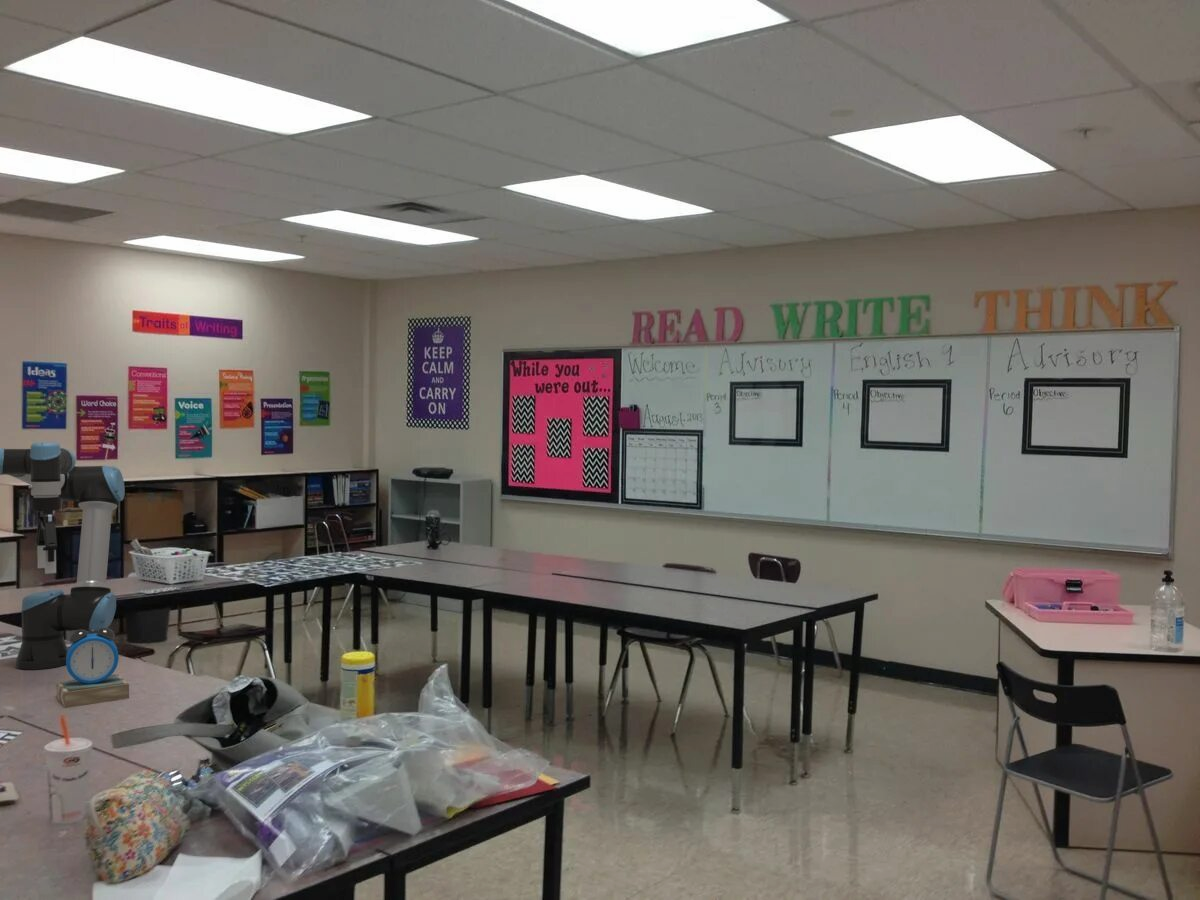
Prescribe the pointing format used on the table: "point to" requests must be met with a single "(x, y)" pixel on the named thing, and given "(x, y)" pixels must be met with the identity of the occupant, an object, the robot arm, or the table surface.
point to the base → (92, 691)
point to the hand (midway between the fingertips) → (46, 570)
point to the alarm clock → (92, 655)
